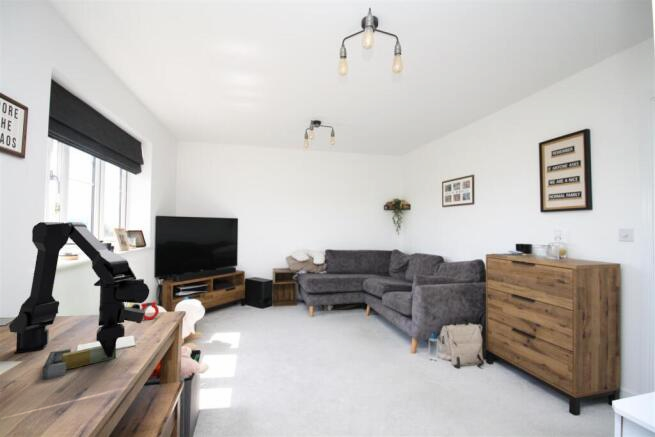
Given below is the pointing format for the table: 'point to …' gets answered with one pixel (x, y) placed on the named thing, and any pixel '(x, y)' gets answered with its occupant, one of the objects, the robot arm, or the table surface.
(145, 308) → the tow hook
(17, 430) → the table surface
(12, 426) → the table surface
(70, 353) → the medication box
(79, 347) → the felt pad
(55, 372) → the cradle stand
